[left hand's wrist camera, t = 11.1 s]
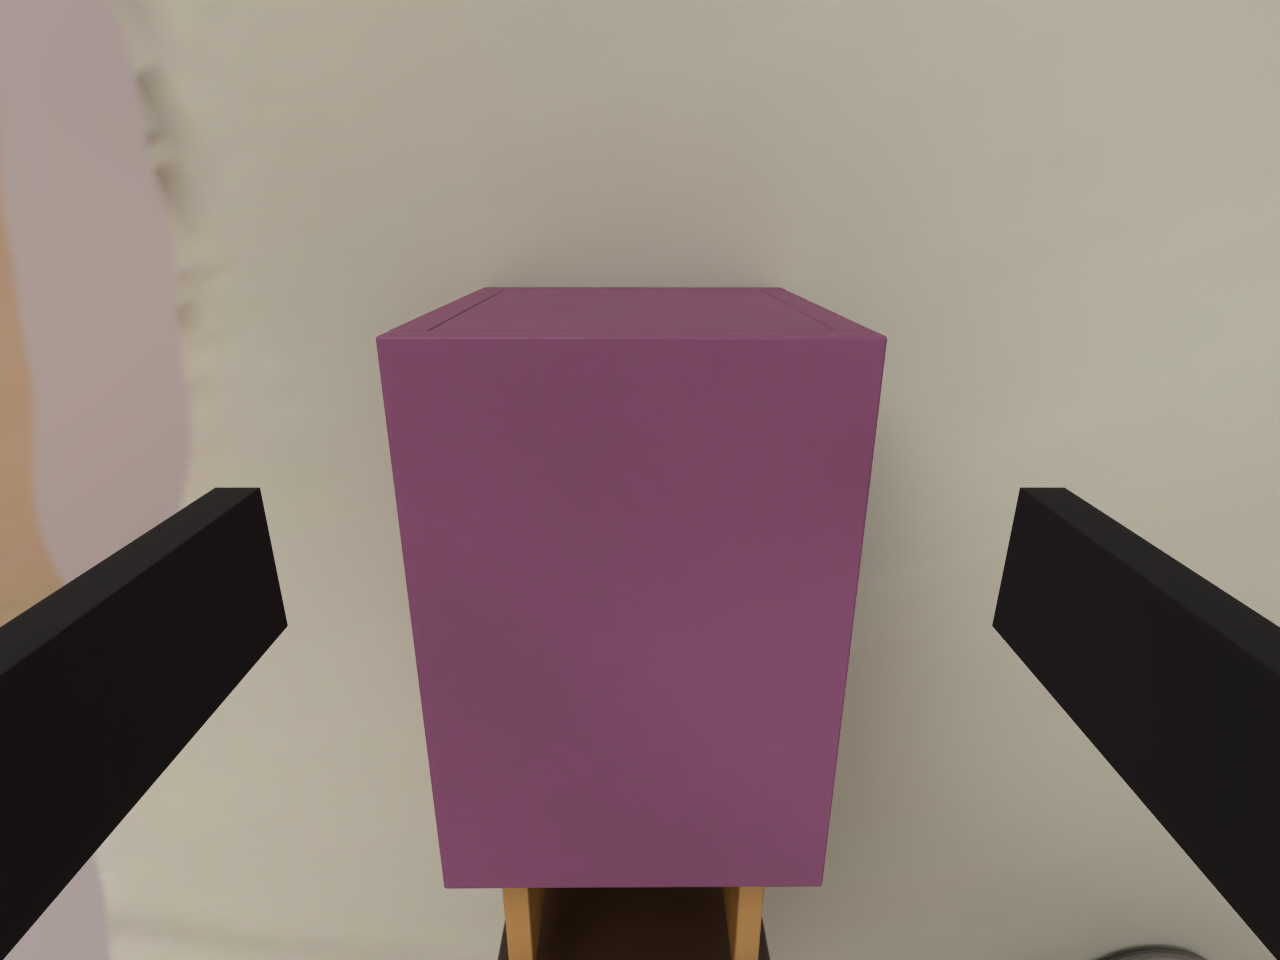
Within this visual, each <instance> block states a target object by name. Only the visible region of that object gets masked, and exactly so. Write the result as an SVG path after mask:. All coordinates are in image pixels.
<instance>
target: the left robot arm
mask: <svg viewBox="0 0 1280 960" xmlns="http://www.w3.org/2000/svg"><path fill="white" fill-rule="evenodd" d="M287 626H288V625H287V620H286V615H285V610H284V605H283V600H282V595H281V591H280V586H279V581H278V576H277V571H276V566H275V561H274V556H273V551H272V546H271V541H270V536H269V531H268V526H267V521H266V516H265V511H264V506H263V501H262V496H261V491H260V488H214V489H213V490H211V491H210V492H208V493H207V494H205V495H203V496H202V497H200V498H199V499H197V500H196V501H194V502H193V503H191V504H190V505H188V506H187V507H185V508H183V509H182V510H180V511H179V512H177V513H176V514H174V515H173V516H171V517H170V518H168V519H167V520H165V521H163V522H162V523H160V524H159V525H157V526H156V527H154V528H153V529H151V530H150V531H148V532H147V533H145V534H143V535H142V536H140V537H139V538H137V539H136V540H134V541H133V542H131V543H130V544H128V545H126V546H125V547H123V548H122V549H120V550H119V551H117V552H116V553H114V554H113V555H111V556H110V557H108V558H106V559H105V560H103V561H102V562H100V563H99V564H97V565H96V566H94V567H93V568H91V569H89V570H88V571H86V572H85V573H83V574H82V575H80V576H79V577H77V578H76V579H74V580H73V581H71V582H69V583H68V584H66V585H65V586H63V587H62V588H60V589H59V590H57V591H56V592H54V593H52V594H51V595H49V596H48V597H46V598H45V599H43V600H42V601H40V602H39V603H37V604H36V605H34V606H32V607H31V608H29V609H28V610H26V611H25V612H23V613H22V614H20V615H19V616H17V617H16V618H14V619H12V620H11V621H9V622H8V623H6V624H5V625H3V626H2V627H0V960H3V959H4V958H5V957H6V956H7V954H8V953H9V952H10V951H11V950H12V949H13V947H14V946H15V945H16V944H17V943H18V942H19V940H20V939H21V938H22V937H23V936H24V935H25V933H26V932H27V931H28V930H29V929H30V927H31V926H32V925H33V924H34V923H35V922H36V920H37V919H38V918H39V917H40V916H41V915H42V913H43V912H44V911H45V910H46V909H47V908H48V906H49V905H50V904H51V903H52V902H53V900H54V899H55V898H56V897H57V896H58V895H59V893H60V892H61V891H62V890H63V889H64V888H65V886H66V885H67V884H68V883H69V882H70V881H71V879H72V878H73V877H74V876H75V875H76V874H77V872H78V871H79V870H80V869H81V868H82V866H83V865H84V864H85V863H86V862H87V861H88V859H89V858H90V857H91V856H92V855H93V854H94V852H95V851H96V850H97V849H98V848H99V847H100V845H101V844H102V843H103V842H104V841H105V839H106V838H107V837H108V836H109V835H110V834H111V832H112V831H113V830H114V829H115V828H116V827H117V825H118V824H119V823H120V822H121V821H122V820H123V818H124V817H125V816H126V815H127V814H128V812H129V811H130V810H131V809H132V808H133V807H134V805H135V804H136V803H137V802H138V801H139V800H140V798H141V797H142V796H143V795H144V794H145V793H146V791H147V790H148V789H149V788H150V787H151V785H152V784H153V783H154V782H155V781H156V780H157V778H158V777H159V776H160V775H161V774H162V773H163V771H164V770H165V769H166V768H167V767H168V766H169V764H170V763H171V762H172V761H173V760H174V759H175V757H176V756H177V755H178V754H179V753H180V751H181V750H182V749H183V748H184V747H185V746H186V744H187V743H188V742H189V741H190V740H191V739H192V737H193V736H194V735H195V734H196V733H197V732H198V730H199V729H200V728H201V727H202V726H203V724H204V723H205V722H206V721H207V720H208V719H209V717H210V716H211V715H212V714H213V713H214V712H215V710H216V709H217V708H218V707H219V706H220V705H221V703H222V702H223V701H224V700H225V699H226V697H227V696H228V695H229V694H230V693H231V692H232V690H233V689H234V688H235V687H236V686H237V685H238V683H239V682H240V681H241V680H242V679H243V678H244V676H245V675H246V674H247V673H248V672H249V670H250V669H251V668H252V667H253V666H254V665H255V663H256V662H257V661H258V660H259V659H260V658H261V656H262V655H263V654H264V653H265V652H266V651H267V649H268V648H269V647H270V646H271V645H272V643H273V642H274V641H275V640H276V639H277V638H278V636H279V635H280V634H281V633H282V632H283V631H284V629H285V628H286V627H287ZM992 626H993V627H994V628H995V629H996V631H997V632H998V633H999V634H1000V635H1001V636H1002V638H1003V639H1004V640H1005V641H1006V642H1007V643H1008V645H1009V646H1010V647H1011V648H1012V649H1013V651H1014V652H1015V653H1016V654H1017V655H1018V656H1019V658H1020V659H1021V660H1022V661H1023V662H1024V663H1025V665H1026V666H1027V667H1028V668H1029V669H1030V670H1031V672H1032V673H1033V674H1034V675H1035V676H1036V678H1037V679H1038V680H1039V681H1040V682H1041V683H1042V685H1043V686H1044V687H1045V688H1046V689H1047V690H1048V692H1049V693H1050V694H1051V695H1052V696H1053V697H1054V699H1055V700H1056V701H1057V702H1058V703H1059V705H1060V706H1061V707H1062V708H1063V709H1064V710H1065V712H1066V713H1067V714H1068V715H1069V716H1070V717H1071V719H1072V720H1073V721H1074V722H1075V723H1076V724H1077V726H1078V727H1079V728H1080V729H1081V730H1082V732H1083V733H1084V734H1085V735H1086V736H1087V737H1088V739H1089V740H1090V741H1091V742H1092V743H1093V744H1094V746H1095V747H1096V748H1097V749H1098V750H1099V751H1100V753H1101V754H1102V755H1103V756H1104V757H1105V759H1106V760H1107V761H1108V762H1109V763H1110V764H1111V766H1112V767H1113V768H1114V769H1115V770H1116V771H1117V773H1118V774H1119V775H1120V776H1121V777H1122V778H1123V780H1124V781H1125V782H1126V783H1127V784H1128V785H1129V787H1130V788H1131V789H1132V790H1133V791H1134V793H1135V794H1136V795H1137V796H1138V797H1139V798H1140V800H1141V801H1142V802H1143V803H1144V804H1145V805H1146V807H1147V808H1148V809H1149V810H1150V811H1151V812H1152V814H1153V815H1154V816H1155V817H1156V818H1157V820H1158V821H1159V822H1160V823H1161V824H1162V825H1163V827H1164V828H1165V829H1166V830H1167V831H1168V832H1169V834H1170V835H1171V836H1172V837H1173V838H1174V839H1175V841H1176V842H1177V843H1178V844H1179V845H1180V847H1181V848H1182V849H1183V850H1184V851H1185V852H1186V854H1187V855H1188V856H1189V857H1190V858H1191V859H1192V861H1193V862H1194V863H1195V864H1196V865H1197V866H1198V868H1199V869H1200V870H1201V871H1202V872H1203V874H1204V875H1205V876H1206V877H1207V878H1208V879H1209V881H1210V882H1211V883H1212V884H1213V885H1214V886H1215V888H1216V889H1217V890H1218V891H1219V892H1220V893H1221V895H1222V896H1223V897H1224V898H1225V899H1226V901H1227V902H1228V903H1229V904H1230V905H1231V906H1232V908H1233V909H1234V910H1235V911H1236V912H1237V913H1238V915H1239V916H1240V917H1241V918H1242V919H1243V920H1244V922H1245V923H1246V924H1247V925H1248V926H1249V928H1250V929H1251V930H1252V931H1253V932H1254V933H1255V935H1256V936H1257V937H1258V938H1259V939H1260V940H1261V942H1262V943H1263V944H1264V945H1265V946H1266V947H1267V949H1268V950H1269V951H1270V952H1271V953H1272V954H1273V956H1274V957H1275V958H1276V959H1277V960H1280V627H1278V626H1277V625H1275V624H1274V623H1272V622H1271V621H1269V620H1268V619H1266V618H1264V617H1263V616H1261V615H1260V614H1258V613H1257V612H1255V611H1254V610H1252V609H1251V608H1249V607H1248V606H1246V605H1244V604H1243V603H1241V602H1240V601H1238V600H1237V599H1235V598H1234V597H1232V596H1231V595H1229V594H1227V593H1226V592H1224V591H1223V590H1221V589H1220V588H1218V587H1217V586H1215V585H1214V584H1212V583H1211V582H1209V581H1207V580H1206V579H1204V578H1203V577H1201V576H1200V575H1198V574H1197V573H1195V572H1194V571H1192V570H1191V569H1189V568H1187V567H1186V566H1184V565H1183V564H1181V563H1180V562H1178V561H1177V560H1175V559H1174V558H1172V557H1170V556H1169V555H1167V554H1166V553H1164V552H1163V551H1161V550H1160V549H1158V548H1157V547H1155V546H1154V545H1152V544H1150V543H1149V542H1147V541H1146V540H1144V539H1143V538H1141V537H1140V536H1138V535H1137V534H1135V533H1134V532H1132V531H1130V530H1129V529H1127V528H1126V527H1124V526H1123V525H1121V524H1120V523H1118V522H1117V521H1115V520H1113V519H1112V518H1110V517H1109V516H1107V515H1106V514H1104V513H1103V512H1101V511H1100V510H1098V509H1097V508H1095V507H1093V506H1092V505H1090V504H1089V503H1087V502H1086V501H1084V500H1083V499H1081V498H1080V497H1078V496H1077V495H1075V494H1073V493H1072V492H1070V491H1069V490H1067V489H1066V488H1020V491H1019V496H1018V501H1017V506H1016V511H1015V516H1014V521H1013V526H1012V531H1011V536H1010V541H1009V546H1008V551H1007V556H1006V561H1005V566H1004V571H1003V576H1002V581H1001V586H1000V590H999V595H998V600H997V605H996V610H995V615H994V620H993V625H992Z"/></svg>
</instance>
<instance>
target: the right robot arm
mask: <svg viewBox="0 0 1280 960" xmlns="http://www.w3.org/2000/svg"><path fill="white" fill-rule="evenodd" d="M1108 960H1204V959H1202V958H1200V957H1198V956H1196V955H1193V954H1190V953H1187V952H1183V951H1178V950H1170V949H1150V950H1141V951H1135V952H1130V953H1126V954H1122V955H1119V956H1116V957H1113V958H1110V959H1108Z"/></svg>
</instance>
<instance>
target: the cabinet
mask: <svg viewBox="0 0 1280 960" xmlns="http://www.w3.org/2000/svg"><path fill="white" fill-rule="evenodd" d="M376 343H377V351H378V359H379V367H380V375H381V383H382V391H383V399H384V407H385V415H386V423H387V431H388V439H389V447H390V455H391V463H392V471H393V479H394V487H395V495H396V503H397V511H398V519H399V527H400V535H401V543H402V551H403V559H404V567H405V575H406V583H407V591H408V599H409V607H410V615H411V623H412V631H413V639H414V647H415V655H416V663H417V671H418V679H419V687H420V695H421V703H422V711H423V719H424V727H425V735H426V743H427V751H428V759H429V767H430V775H431V783H432V791H433V799H434V807H435V815H436V823H437V831H438V839H439V847H440V855H441V863H442V871H443V879H444V887H445V888H595V887H772V886H821V885H822V880H823V871H824V863H825V854H826V846H827V838H828V829H829V821H830V812H831V804H832V796H833V787H834V779H835V771H836V762H837V754H838V745H839V737H840V729H841V720H842V712H843V703H844V695H845V687H846V678H847V670H848V662H849V653H850V645H851V636H852V628H853V620H854V611H855V603H856V594H857V586H858V578H859V569H860V561H861V553H862V544H863V536H864V527H865V519H866V511H867V502H868V494H869V485H870V477H871V469H872V460H873V452H874V443H875V435H876V427H877V418H878V410H879V402H880V393H881V385H882V376H883V368H884V360H885V351H886V343H887V338H886V336H883V335H881V334H879V333H877V332H875V331H872V330H870V329H868V328H866V327H864V326H862V325H859V324H857V323H855V322H853V321H851V320H849V319H846V318H844V317H842V316H840V315H838V314H836V313H834V312H831V311H829V310H827V309H825V308H823V307H821V306H818V305H816V304H814V303H812V302H810V301H808V300H806V299H803V298H801V297H799V296H797V295H795V294H793V293H790V292H788V291H786V290H784V289H782V288H483V289H481V290H478V291H476V292H474V293H471V294H469V295H467V296H465V297H463V298H460V299H458V300H456V301H454V302H451V303H449V304H447V305H445V306H443V307H440V308H438V309H436V310H434V311H432V312H429V313H427V314H425V315H423V316H420V317H418V318H416V319H414V320H412V321H409V322H407V323H405V324H403V325H400V326H398V327H396V328H394V329H392V330H389V331H388V332H386V333H384V334H382V335H379V336H377V338H376Z"/></svg>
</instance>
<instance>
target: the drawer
mask: <svg viewBox="0 0 1280 960" xmlns="http://www.w3.org/2000/svg"><path fill="white" fill-rule="evenodd" d="M763 894H764V887H595V888H503V898H504V910H505V923H504V929H503V934H502V940H501V945H500V951H499V956H498V960H770V957H769V951H768V946H767V940H766V935H765V930H764V924H763V919H762V907H763Z"/></svg>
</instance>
